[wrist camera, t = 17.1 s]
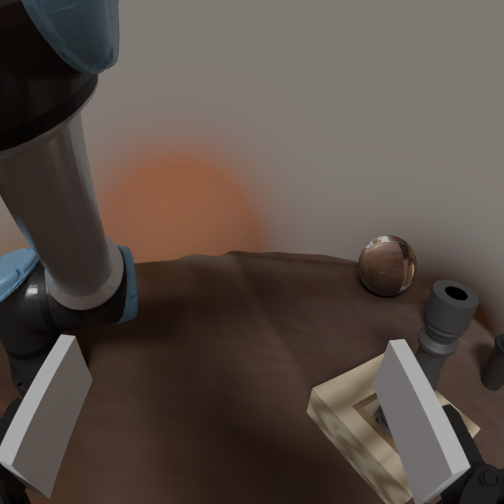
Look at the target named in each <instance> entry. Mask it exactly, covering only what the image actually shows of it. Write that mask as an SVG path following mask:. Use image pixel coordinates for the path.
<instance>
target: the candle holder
mask: <svg viewBox="0 0 504 504" xmlns="http://www.w3.org/2000/svg"><path fill="white" fill-rule="evenodd" d="M478 303H479V298H478V295H477V294H476V293H475V292H474V291H473V290H472V289H470V288H469V287H467V286H466V285H464V284H461V283H459V282H455V281H452V280H440V281H436V282H435V283H434V284H433V286H432V290H431V293H430V296H429V299H428V302H427V305H426V308H425V324H426V326H425V327H423V328H422V329H421V330H420V331H419V333H418V343H419V347H418V350H417V352H416V355H415V358H416V360H417V362H418V364H419V365H420V367H421V369H422V371H423V372H424V374H425V376H426V378H427V380H428V382H429V383H430V385H431V387H432V389H433V391H434V393H435V389H436V385H437V381H438V377H439V373H440V370H441V368H442V366H443V364H444V362H445V360H446V358H447V357H448V356H450V355H452V354H454V352H455V351H456V349H457V347H458V341H457V338H458V337H460V336H461V335H463V333H464V332H465V331H466V330H467V329H468V327H469V325H470V323H471V320H472V318H473V316H474V313H475V311H476V308H477V306H478ZM375 421H376V422H377V423H378V424H379V425H380V426H381V427H382V428H383V429H384V430H385V431H386V432H387V433H388V434H389V435H390V436H391V437H392V434H391V431H390V429H389V426H388V423H387V420H386V418H385V415H384V413H383V410H381V411H380V412H379V414H378V416H377V418H376V420H375ZM392 438H393V437H392Z"/></svg>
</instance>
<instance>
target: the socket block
mask: <svg viewBox="0 0 504 504" xmlns="http://www.w3.org/2000/svg"><path fill="white" fill-rule="evenodd" d="M384 354H385V353H383V354H381V355H380V356H378V357H376V358H374V359H372V360H370V361H368V362H366V363H364V364H362V365H360V366H358V367H356V368H354V369H352V370H350V371H348V372H346V373H344V374H342V375H340V376H338V377H336V378H334V379H331V380H329V381H327V382H325V383H323V384H321V385H318V386H316V387H314V388H312V392H311V396H310V400H309V404H308V408H307V413H308V414H309V416H310V417H311V418H312V419H313V420H314V422H315V423H316V424H317V425H318V426H319V428H320V429H321V430H322V431H323V433H324V434H325V435H326V436H327V437H328V439H329V440H330V441H331V442H332V443H333V444H334V446H335V447H336V448H337V449H338V450H339V452H340V453H341V454H342V455H343V456H344V457H345V459H346V460H347V461H348V462H349V463H350V464H351V466H352V467H353V468H354V469H355V470H356V471H357V472H358V474H359V475H360V476H361V477H362V478H363V479H364V480H365V481H366V483H367V484H368V485H369V486H370V487H371V488H372V489H373V490H374V492H375V493H376V494H377V495H378V496H379V497H380V498H381V499H382V500H383V501H384V502H385V504H405V503H406V502H408V501H409V500H410V499H411V498H412V497H413V495H412V492H411V489H410V486H409V483H408V480H407V477H406V474H405V471H404V468H403V465H402V462H401V459H400V457H399V454H398V451H397V448H396V445H395V442H394V440H393V438H392V437H391V436H390V435H389V434H388V433H387V432H386V431H385V430H384V429H383V428H382V427H381V426H380V425H379V424H378V423H377V422H376V421H375V420H376V418H377V416H378V414H379V412H380V411H381V410H382V407H381V405H380V402H379V399H378V397H377V394H376V392H375V389H374V387H373V382H374V379H375V377H376V374H377V372H378V369H379V367H380V364H381V362H382V359H383V356H384ZM435 395H436V397H437V399H438V400H439V402H440V404H441V406H443V405H447V404H451V403H450V402H449V401H447V400H446V399H445V398H444V397H443V396H441V395H440V394H439V393H438V392H437V391H436V390H435ZM451 405H452V404H451ZM452 406H453V405H452ZM453 407H454V406H453ZM454 408H455V409H456V410H457V411H458V412H459V413H460V415H461V417H462V419H463V421H464V424H465V425H466V427H467V428H468V432H470V434H471V436H472V438H473V437H474V436H475V435H476V434H477V432H478V431H479V430H480V428H479V427H478V426H477V425H476V424H474V423H473V422H472V421H471V420H470V419H469V418H467V417H466V416H465V415H464V414H463V413H461V412H460V411H459V410H458V409H457V408H456V407H454Z"/></svg>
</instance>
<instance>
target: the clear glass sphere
mask: <svg viewBox="0 0 504 504" xmlns="http://www.w3.org/2000/svg"><path fill="white" fill-rule="evenodd" d="M416 270H417V261H416V256H415V254H414V251H413V250H412V248H411V247H410V245H409V244H408V243H407V242H406V241H404V240H403V239H401V238H399V237H396V236H391V235H384V236H380V237H377V238H375V239H373V240H372V241H370V242H369V243H368V244H367V245H366V246H365V248H364V249H363V251H362V253H361V255H360V258H359V274H360V277H361V279H362V281H363V283H364V284H365V286H366V287H367V288H368V289H369V290H371V291H372V292H374V293H375V294H378V295H381V296H394V295H397V294H399V293H401V292H403V291H404V290H406V289H407V288H408V287H409V286H410V284H411V283H412V282H413V280H414V277H415V275H416Z"/></svg>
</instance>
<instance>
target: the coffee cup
mask: <svg viewBox="0 0 504 504" xmlns="http://www.w3.org/2000/svg"><path fill="white" fill-rule="evenodd" d="M481 380H482V383H483V385H484V386H485V387H486V388H488V389H489V390H493V391H496V390H499V389H500V388H501V387H502V385H503V384H504V334H501V335H499V336H498V337H496V339H495V346H494V349H493V351H492V354H491V356H490V358H489V361H488V363H487V365H486V368H485V370H484V372H483V375H482V377H481Z"/></svg>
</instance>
